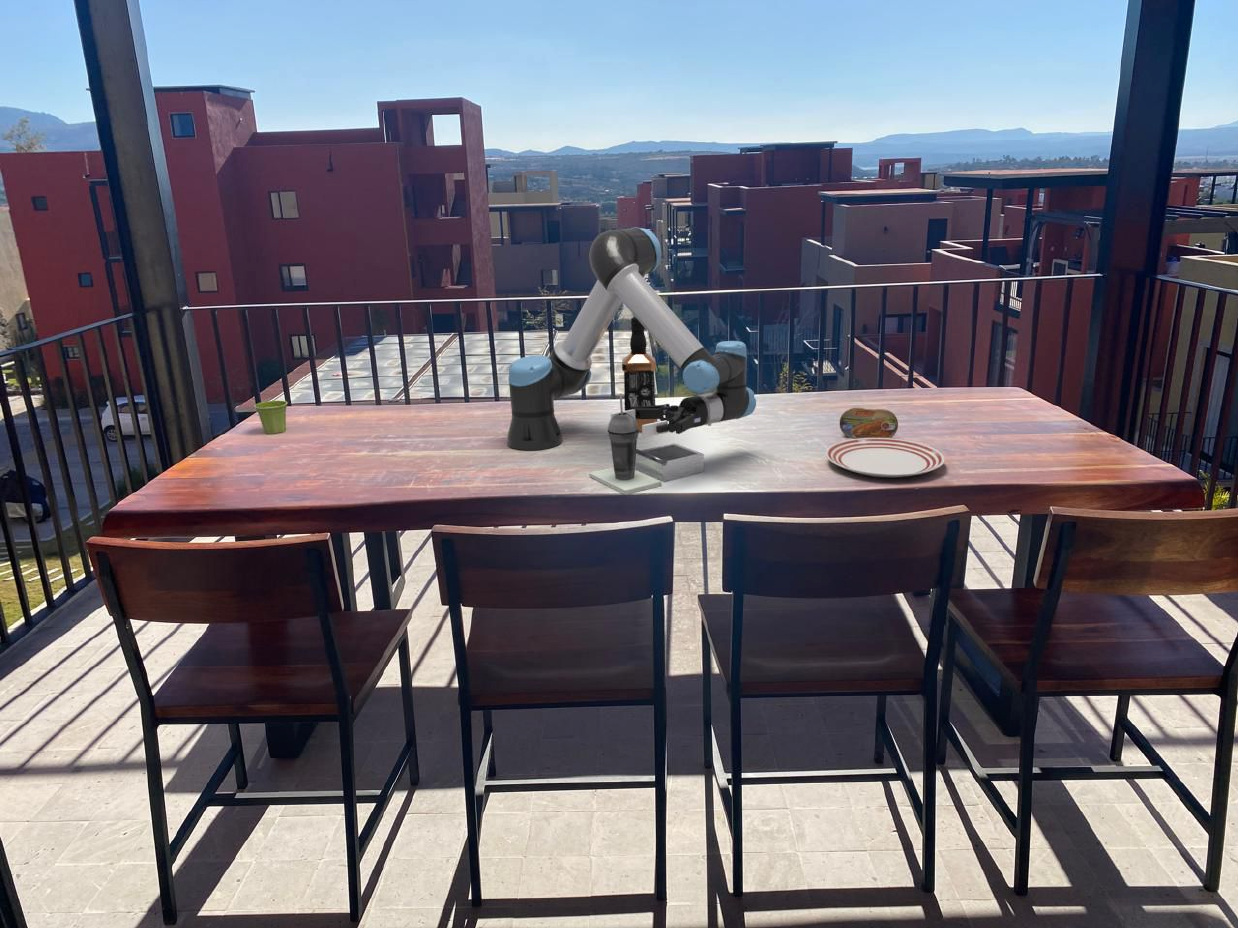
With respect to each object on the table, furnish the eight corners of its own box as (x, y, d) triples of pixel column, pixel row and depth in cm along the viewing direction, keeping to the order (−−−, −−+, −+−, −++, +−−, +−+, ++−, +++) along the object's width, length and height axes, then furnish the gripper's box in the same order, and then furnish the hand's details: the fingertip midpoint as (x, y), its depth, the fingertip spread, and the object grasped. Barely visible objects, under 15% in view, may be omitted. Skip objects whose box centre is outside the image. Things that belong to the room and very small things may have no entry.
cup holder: (635, 469, 202) (634, 449, 201) (674, 460, 209) (674, 440, 207) (663, 481, 193) (662, 461, 191) (703, 471, 199) (703, 451, 197)
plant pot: (297, 427, 254) (293, 400, 251) (282, 435, 245) (278, 407, 242) (268, 427, 255) (264, 400, 252) (253, 436, 246) (248, 408, 243)
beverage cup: (613, 483, 190) (610, 399, 183) (606, 474, 196) (602, 392, 190) (644, 480, 191) (641, 396, 185) (635, 470, 198) (632, 389, 192)
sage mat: (589, 476, 198) (589, 472, 198) (624, 468, 203) (624, 465, 203) (625, 494, 185) (625, 490, 185) (661, 485, 190) (661, 481, 190)
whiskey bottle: (657, 431, 235) (655, 319, 225) (623, 432, 235) (619, 320, 225) (657, 422, 245) (654, 314, 235) (624, 423, 245) (620, 315, 235)
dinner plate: (953, 487, 183) (954, 473, 182) (827, 482, 189) (827, 469, 188) (933, 451, 209) (934, 438, 208) (823, 448, 214) (823, 436, 213)
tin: (838, 437, 223) (840, 407, 220) (841, 434, 226) (842, 404, 223) (895, 443, 216) (898, 412, 214) (898, 440, 219) (900, 409, 216)
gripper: (732, 436, 192) (657, 452, 181) (670, 415, 212) (600, 429, 201) (732, 405, 189) (656, 420, 179) (670, 387, 210) (598, 399, 199)
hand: (626, 425), depth 190 cm, fingers open, 13 cm apart
